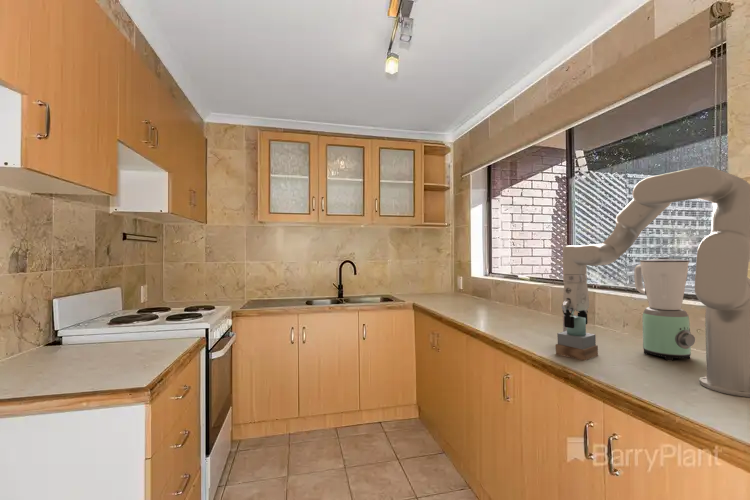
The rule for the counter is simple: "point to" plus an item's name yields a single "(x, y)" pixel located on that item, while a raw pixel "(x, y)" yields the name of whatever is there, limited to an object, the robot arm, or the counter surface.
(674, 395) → the counter surface
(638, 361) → the counter surface
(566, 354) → the tower base block
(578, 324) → the teal cylinder
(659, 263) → the mint green blender
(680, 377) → the counter surface
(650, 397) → the counter surface
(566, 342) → the tower top block
